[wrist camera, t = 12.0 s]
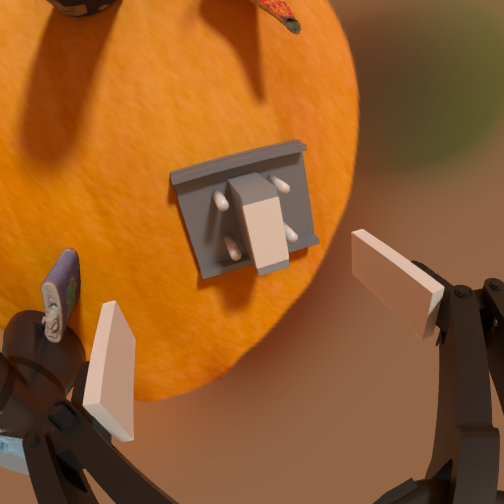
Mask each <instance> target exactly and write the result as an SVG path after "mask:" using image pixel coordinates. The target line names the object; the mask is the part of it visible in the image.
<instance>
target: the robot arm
mask: <svg viewBox="0 0 504 504" xmlns="http://www.w3.org/2000/svg"><path fill="white" fill-rule="evenodd" d="M351 235H352V274H353V275H354V276H355V277H356V278H357V279H358V280H360V282H362V283H363V284H364V285H365V286H366V287H367V288H368V289H369V290H370V291H371V292H372V293H373V294H374V295H375V296H376V297H377V298H378V299H379V300H381V302H383V303H384V304H385V305H386V306H387V307H388V308H389V309H390V310H391V311H392V312H393V313H394V314H395V315H396V316H397V317H398V318H399V319H400V320H401V321H402V322H403V323H404V324H405V325H406V326H407V327H408V328H409V329H410V330H411V331H412V332H413V333H414V334H415V335H416V336H417V337H418V338H419V339H420V340H421V341H423V340H424V339H426V338H428V337H430V336H431V335H433V333H434V329H435V326H436V325H437V326H438V327H439V328H440V332H439V336H438V339H437V342H436V346H438V343H439V394H438V409H437V422H436V431H435V439H434V448H433V454H432V459H431V462H430V465H429V467H428V469H427V472H426V476H425V479H422V480H417V481H414V480H413V479H412V478H410V479H409V480H407V481H405V482H404V483H402V484H400V485H399V486H397V487H395V488H393V489H392V490H390V491H388V492H386V493H385V494H384V495H383V496H382V497H380V498H379V499H378V500H377V501H375V502H374V503H373V504H504V491H500V490H497V484H498V472H499V453H500V452H499V451H500V434H499V430H498V428H494V427H493V425H492V407H491V406H492V405H491V389H490V378H489V371H490V374H491V377H492V380H493V383H494V385H495V388H496V391H497V394H498V397H499V401H500V404H501V407H502V411H503V414H504V283H503V282H502V281H501V280H499V279H496V278H489V279H486V280H485V282H484V286H483V288H482V289H478V290H472V289H471V288H469V287H467V286H465V285H456V286H453V285H451V284H450V283H449V282H447V281H446V280H445V279H443V278H441V277H440V276H439V275H438V274H435V272H434V271H432V270H430V269H429V268H428V267H427V266H425V265H424V264H422V263H420V262H417V261H414V260H413V261H408V260H407V259H406V258H404V257H403V256H402V255H400V254H399V253H397V252H395V251H394V250H393V249H391V248H390V247H389V246H387V245H386V244H384V243H383V242H381V241H380V240H378V239H377V238H375V237H374V236H372V235H371V234H369V233H368V232H366V231H365V230H363V229H361V230H357V231H354V232H351ZM44 316H45V313H43V312H39V311H33V310H27V311H21V312H19V313H17V314H15V315H14V316H13V317H12V318H11V319H10V321H9V323H8V325H7V326H6V328H5V331H4V337H3V338H4V339H3V348H2V353H1V352H0V466H2V467H4V468H7V469H9V470H12V471H15V472H18V473H22V474H26V475H30V478H31V482H32V485H33V488H34V492H35V495H36V498H37V501H38V504H99V503H98V501H97V499H96V497H95V495H94V493H93V491H92V489H91V487H90V485H89V483H88V481H87V479H86V476H85V474H84V472H83V470H82V469H84V468H85V469H86V470H87V471H88V472H89V473H90V475H91V476H92V477H93V478H94V480H95V481H96V482H97V483H98V484H99V485H100V486H101V488H102V489H103V490H104V491H105V492H106V493H107V494H108V495H109V497H110V498H111V499H112V500H113V501H114V502H115V503H116V504H179V503H178V502H176V501H175V500H174V499H173V498H171V497H170V496H169V495H167V494H166V493H165V492H164V491H162V490H161V489H160V488H159V487H158V486H156V485H155V484H154V483H153V482H152V481H151V480H149V479H148V478H147V477H146V476H145V475H144V474H143V473H141V472H140V471H139V470H138V469H137V468H136V467H135V466H134V465H133V464H132V463H131V462H130V461H128V459H126V458H125V457H124V456H123V455H122V454H121V453H120V452H119V451H118V450H117V449H116V448H115V447H114V446H113V445H112V444H111V436H112V437H113V438H114V439H115V440H116V441H118V442H123V441H131V440H134V417H133V400H134V362H135V343H136V339H135V337H134V335H133V333H132V331H131V329H130V327H129V325H128V324H127V322H126V320H125V318H124V316H123V314H122V312H121V310H120V308H119V306H118V304H117V301H116V300H114V301H111V302H107V303H104V304H103V306H102V310H101V314H100V318H99V322H98V326H97V331H96V335H95V339H94V344H93V349H92V354H91V359H90V361H87V362H85V352H84V348H83V346H82V344H81V342H80V340H79V339H78V337H77V336H76V335H75V333H74V332H73V331H72V330H71V329H70V328H69V327H68V326H66V329H65V331H64V334H63V337H62V339H61V341H60V342H58V343H54V342H50V341H49V340H48V338H46V336H45V326H46V321H44V324H43V323H42V320H43V317H44ZM496 320H497V323H496ZM73 386H74V389H73V393H72V398H71V402H70V401H69V400H67V399H66V396H67V394H68V393H69V392H70V390H71V388H73Z"/></svg>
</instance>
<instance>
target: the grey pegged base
mask: <svg viewBox="0 0 504 504" xmlns="http://www.w3.org/2000/svg"><path fill="white" fill-rule="evenodd" d="M306 150H307V149H306V144H304V143H300V140H293V141H288V142H283V143H278V144H274V145H269V146H265V147H261V148H256V149H252V150H248V151H244V152H240V153H236V154H232V155H228V156H224V157H221V158H217V159H213V160H210V161H206V162H203V163H199V164H196V165H192V166H189V167H185V168H182V169H179V170H175V171H172V172H170V174H171V181H172V185H174V188H175V191H176V195H177V198H178V201H179V204H180V208H181V211H182V214H183V217H184V220H185V224H186V227H187V230H188V233H189V236H190V239H191V242H192V245H193V248H194V251H195V254H196V257H197V260H198V263H199V266H200V270H201V275H202V278H203V279H206V278H210V277H213V276H216V275H220V274H223V273H226V272H229V271H233V270H236V269H239V268H242V267H246V266H249V265H252V262H251V260H250V258H249V256H248V254H247V252H246V250H245V248H244V246H243V243H242V239H241V235H240V231H239V227H238V222H237V218H236V214H235V210H234V206H233V202H232V198H231V193H230V189H229V185H228V181H227V179H230V178H233V177H237V176H241V175H245V174H249V173H253V172H256V173H258V174H259V175H260V176H262V177H263V178H265V179H266V180H267V181H269V182H270V183H271V184H273V185H274V186H275V187H276V189H277V195H278V197H279V201H280V207H281V213H282V218H283V224H284V230H285V236H286V241H287V247H288V253H291V252H294V251H297V250H300V249H303V248H306V247H310V246H313V245H316V244H319V243H320V242H319V238H318V237H317V236H316V235H315V234H314V229H313V221H312V213H311V206H310V199H309V192H308V186H307V179H306V173H305V167H304V160H303V154H302V151H306Z"/></svg>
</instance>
